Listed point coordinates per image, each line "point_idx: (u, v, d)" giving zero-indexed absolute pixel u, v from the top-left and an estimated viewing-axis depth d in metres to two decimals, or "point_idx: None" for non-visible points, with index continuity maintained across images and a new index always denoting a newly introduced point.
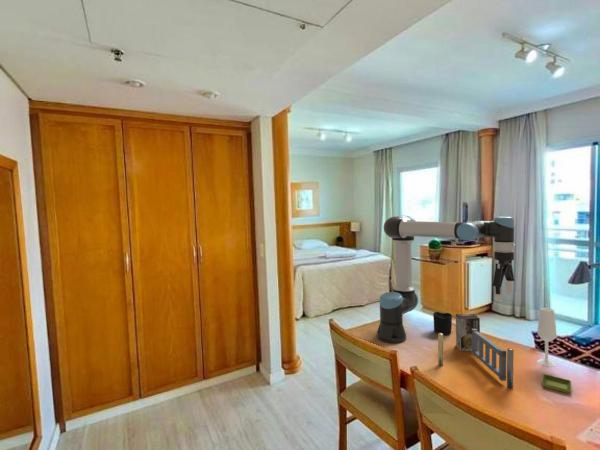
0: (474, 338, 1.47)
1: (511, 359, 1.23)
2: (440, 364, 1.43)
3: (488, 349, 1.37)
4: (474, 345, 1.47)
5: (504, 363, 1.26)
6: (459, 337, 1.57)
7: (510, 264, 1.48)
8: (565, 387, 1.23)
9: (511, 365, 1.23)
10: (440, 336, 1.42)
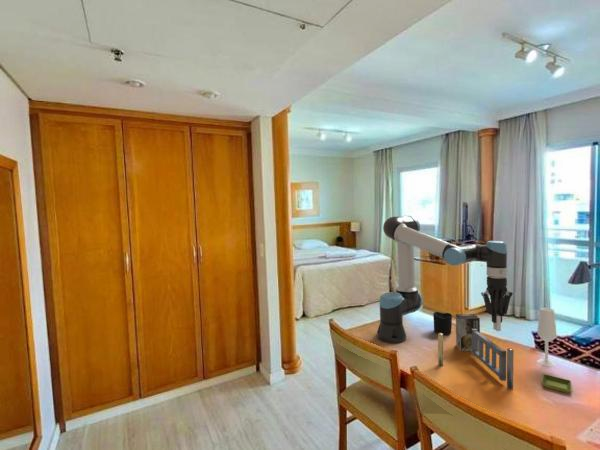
0: (474, 338, 1.47)
1: (511, 359, 1.23)
2: (440, 364, 1.43)
3: (488, 349, 1.37)
4: (474, 345, 1.47)
5: (504, 363, 1.26)
6: (459, 337, 1.57)
7: (507, 294, 1.41)
8: (565, 387, 1.23)
9: (511, 365, 1.23)
10: (440, 336, 1.42)
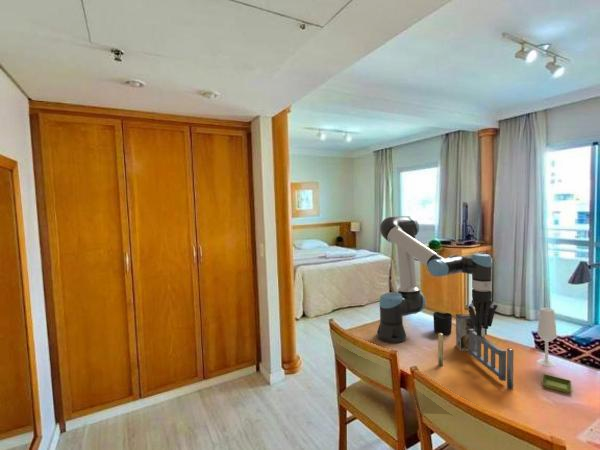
0: (471, 338, 1.47)
1: (511, 359, 1.23)
2: (440, 364, 1.43)
3: (486, 349, 1.37)
4: (471, 345, 1.47)
5: (504, 363, 1.26)
6: (459, 337, 1.57)
7: (492, 307, 1.41)
8: (565, 387, 1.23)
9: (511, 365, 1.23)
10: (440, 336, 1.42)
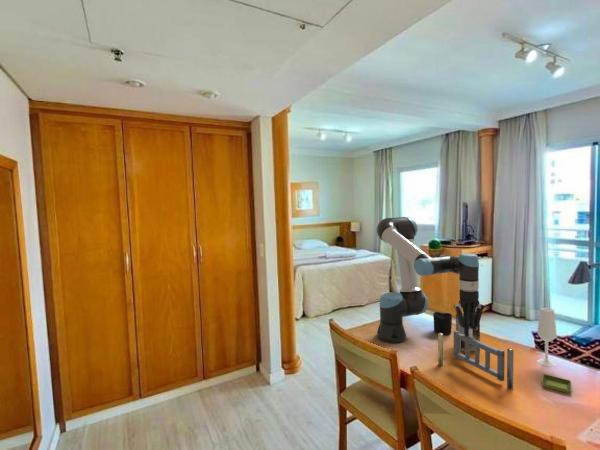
0: (457, 340, 1.45)
1: (511, 359, 1.23)
2: (440, 364, 1.43)
3: (478, 350, 1.36)
4: (457, 347, 1.45)
5: (503, 363, 1.26)
6: None
7: (479, 307, 1.41)
8: (565, 387, 1.23)
9: (511, 365, 1.23)
10: (440, 336, 1.42)
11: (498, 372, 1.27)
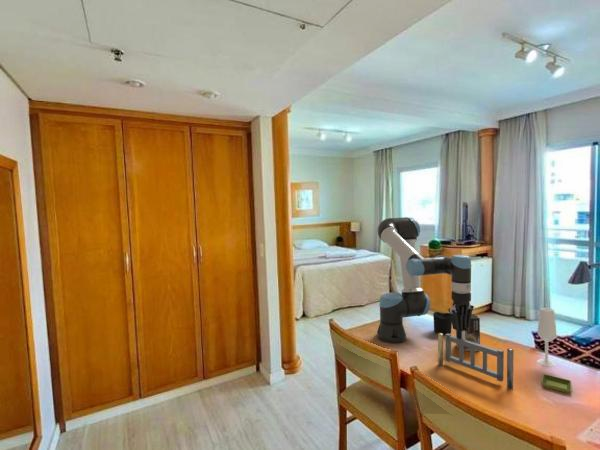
0: (449, 343, 1.42)
1: (511, 359, 1.23)
2: (440, 364, 1.43)
3: (474, 352, 1.35)
4: (449, 351, 1.43)
5: (502, 363, 1.26)
6: None
7: (470, 308, 1.40)
8: (565, 387, 1.23)
9: (511, 365, 1.23)
10: (440, 336, 1.42)
11: (498, 373, 1.27)
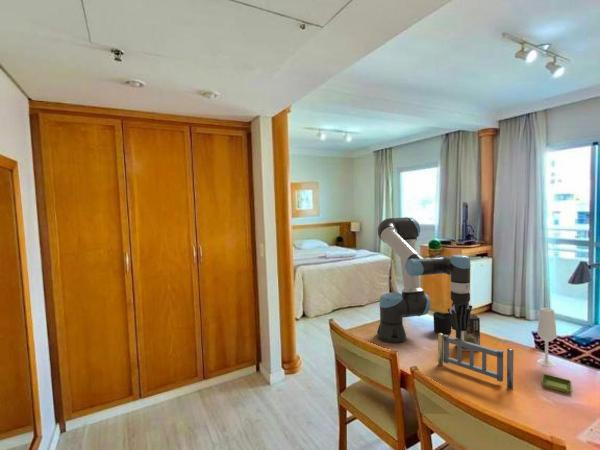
0: (447, 345, 1.41)
1: (511, 359, 1.23)
2: (440, 364, 1.43)
3: (473, 353, 1.34)
4: (447, 352, 1.41)
5: (502, 363, 1.26)
6: None
7: (469, 308, 1.40)
8: (565, 387, 1.23)
9: (511, 365, 1.23)
10: (440, 336, 1.42)
11: (498, 373, 1.26)
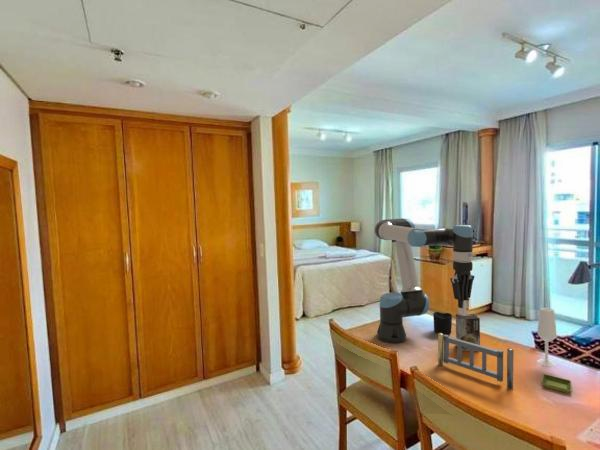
0: (447, 345, 1.41)
1: (511, 359, 1.23)
2: (440, 364, 1.43)
3: (473, 353, 1.34)
4: (447, 352, 1.41)
5: (502, 363, 1.26)
6: (459, 337, 1.57)
7: (471, 278, 1.41)
8: (565, 387, 1.23)
9: (511, 365, 1.23)
10: (440, 336, 1.42)
11: (498, 373, 1.26)
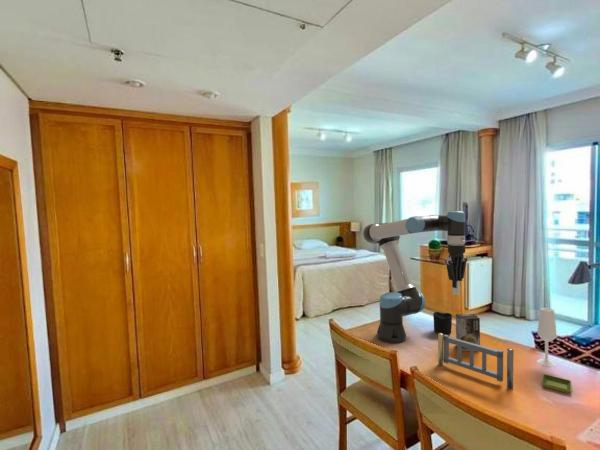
0: (447, 345, 1.41)
1: (511, 359, 1.23)
2: (440, 364, 1.43)
3: (473, 353, 1.34)
4: (447, 352, 1.41)
5: (502, 363, 1.26)
6: (459, 337, 1.57)
7: (464, 260, 1.52)
8: (565, 387, 1.23)
9: (511, 365, 1.23)
10: (440, 336, 1.42)
11: (498, 373, 1.26)
